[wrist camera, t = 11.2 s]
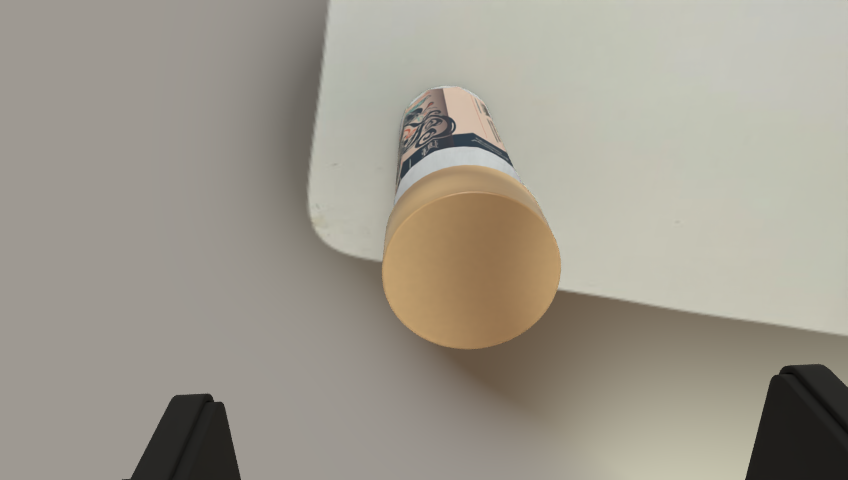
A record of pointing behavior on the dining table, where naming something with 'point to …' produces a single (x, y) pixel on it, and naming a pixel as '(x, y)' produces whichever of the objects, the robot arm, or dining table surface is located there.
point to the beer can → (447, 136)
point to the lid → (469, 258)
